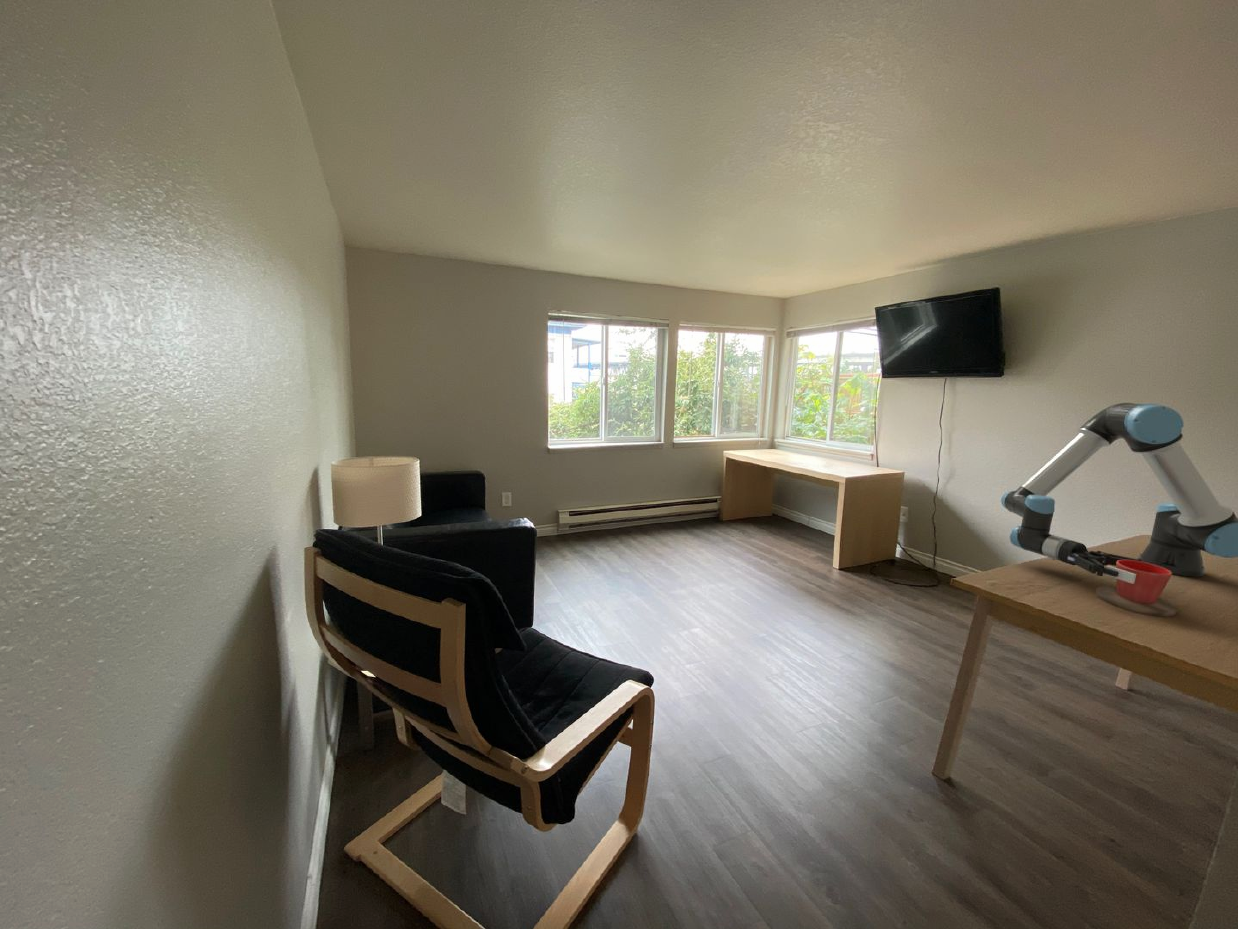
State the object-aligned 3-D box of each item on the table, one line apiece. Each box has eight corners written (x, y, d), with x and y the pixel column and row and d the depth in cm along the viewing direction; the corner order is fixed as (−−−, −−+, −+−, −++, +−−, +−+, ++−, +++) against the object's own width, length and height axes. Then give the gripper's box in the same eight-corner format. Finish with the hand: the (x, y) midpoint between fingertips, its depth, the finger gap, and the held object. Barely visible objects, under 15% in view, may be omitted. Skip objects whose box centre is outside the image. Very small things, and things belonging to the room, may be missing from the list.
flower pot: (1169, 610, 131) (1178, 577, 130) (1113, 599, 138) (1120, 567, 136) (1158, 596, 140) (1166, 565, 138) (1106, 586, 146) (1112, 556, 144)
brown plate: (1139, 593, 146) (1140, 588, 145) (1194, 619, 130) (1195, 613, 130) (1081, 589, 148) (1082, 584, 147) (1128, 614, 132) (1129, 609, 132)
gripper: (1090, 558, 159) (1177, 585, 139) (1034, 564, 153) (1117, 593, 133) (1094, 537, 158) (1183, 561, 138) (1038, 542, 151) (1123, 568, 131)
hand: (1151, 577), depth 135 cm, fingers open, 13 cm apart
